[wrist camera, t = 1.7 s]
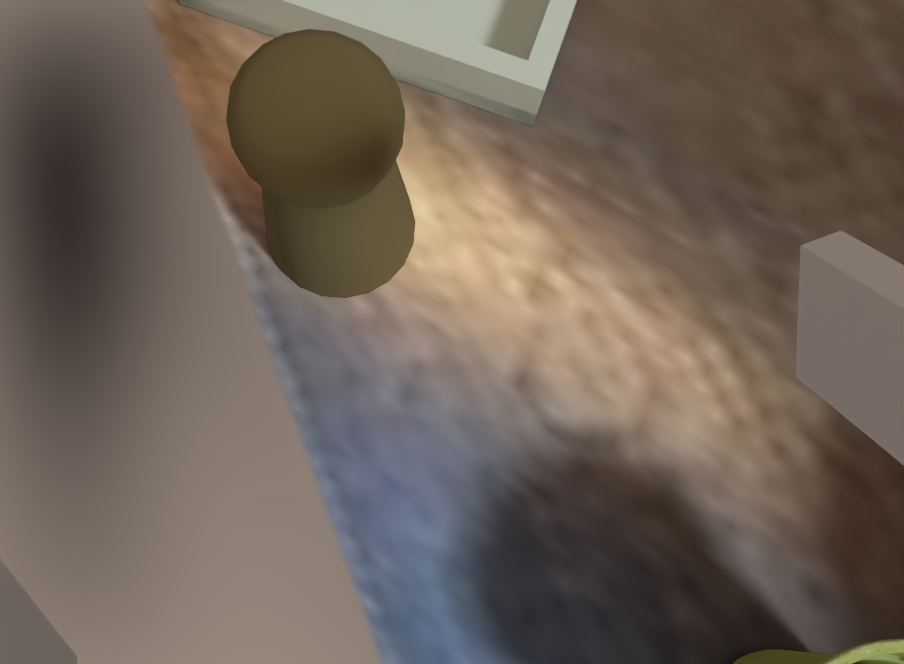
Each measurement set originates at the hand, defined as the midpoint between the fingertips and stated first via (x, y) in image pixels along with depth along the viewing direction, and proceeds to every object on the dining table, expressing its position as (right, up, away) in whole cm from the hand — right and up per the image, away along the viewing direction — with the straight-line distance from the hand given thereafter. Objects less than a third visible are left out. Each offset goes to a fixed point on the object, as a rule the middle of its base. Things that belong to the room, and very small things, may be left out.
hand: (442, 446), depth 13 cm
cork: (-4, +6, +20) cm, 22 cm away
